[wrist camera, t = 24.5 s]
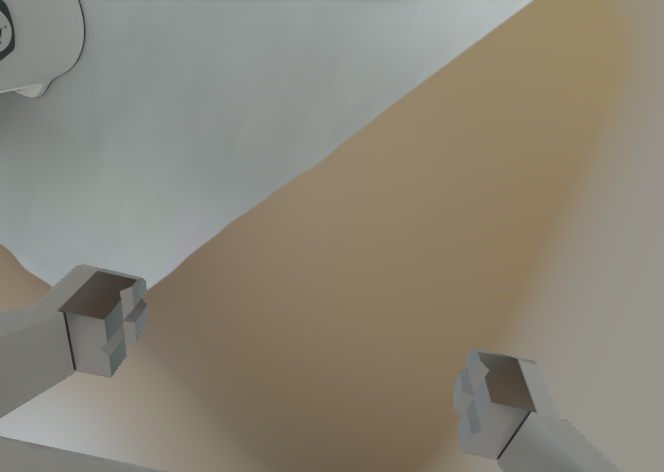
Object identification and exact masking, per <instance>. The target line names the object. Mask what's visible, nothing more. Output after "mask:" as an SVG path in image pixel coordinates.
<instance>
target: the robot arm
mask: <svg viewBox="0 0 664 472" xmlns="http://www.w3.org/2000/svg"><path fill="white" fill-rule="evenodd" d="M83 40H84V23H83V17H82V12H81V8H80V5H79V2H78V0H0V93H3V92H8V91H14V92H16V93H19V94H21V95H24V96H26V97H29V98H34V97H40V96H41V95H43V93H44V92H45V91H46V89H47V87H48V85H49V84H50V82H51V81H52V80H53V79H54V78H56V77H58V76H60V75H62V74H64V73H65V72H67V71H68V70H69V69H70V68H71V67H72V66H73V65H74V64H75V62H76V61H77V59H78V57H79V55H80V53H81V50H82V46H83ZM146 292H147V288H146V280H144V279H143V278H141V277H137V276H133V275H128V274H124V273H120V272H116V271H112V270H107V269H101V268H97V267H93V266H89V265H85V264H82V265H78V266H76V267H75V268H74V269H73V270H72V271H71V272H69V273H68V274H67V275H66V276H65V277H64V278H63V279H62V280H61V281H60V282H58V283H57V284H56V285H55V286H54V287H53V288H52V289H51V290H50V291H49V292H48V293H46V294H45V295H44V296H43V297H42V298H41V299H40V300H39V301H38V302H37V303H35V304H34V305H33V306H31V305H24V306H21V307H18V308H15V309H12V310H9V311H7V312H4V313H1V314H0V418H1V417H3V416H5V415H6V414H8V413H10V412H11V411H13V410H15V409H16V408H18V407H19V406H21V405H23V404H24V403H26V402H28V401H29V400H31V399H33V398H34V397H36V396H38V395H39V394H41V393H43V392H44V391H46V390H47V389H49V388H51V387H52V386H54V385H56V384H57V383H59V382H61V381H62V380H64V379H66V378H67V377H69V376H70V375H72V374H74V371H77V372H83V373H88V374H94V375H99V376H104V377H110V378H111V377H112V376H113V375H114V373H115V372H116V370H117V369H118V367H119V366H120V365H121V363H122V362H123V360H124V359H125V357H126V347H127V346H129V345H131V344H133V343H135V342H136V341H137V340H138V338H139V337H140V335H141V334H142V332H143V329H144V327H145V324H146V321H147V314H148V307H147V304H146V303H145V302H144V300H143V299H142V297H143V296H144V294H145V293H146ZM466 363H467V368H466V369H464V370H462V371H460V372H459V374H458V376H457V378H456V380H455V385H454V390H453V403H454V410H455V411H456V412H457V414H458V415H459V416H460V417H461V420H460V422H459V424H458V426H457V427H458V433H459V438H460V444H461V450H462V452H464V453H468V454H472V455H476V456H481V457H485V458H489V459H493V460H497V463H498V465H499V466H500V468H501V469H502V471H503V472H621V471H620V470H619V469H617V467H616V466H614V465H613V464H612V463H611V462H610V461H609V460H608V459H607V458H606V457H605V456H604V455H603V454H602V453H601V452H600V451H599V450H598V449H597V448H596V447H595V446H594V445H593V444H592V443H591V442H590V441H589V440H588V439H587V438H586V437H585V436H584V435H582V434H581V433H580V432H579V431H578V430H577V429H576V428H575V427H574V426H573V425H572V424H571V423H570V422H569V421H568V420H566V419H562V418H560V416H559V413H558V410H557V408H556V406H555V403H554V401H553V399H552V396H551V394H550V391H549V389H548V386H547V384H546V382H545V379H544V377H543V375H542V372H541V370H540V367H539V365H538V364H537V363H536V362H535V361H534V360H529V359H523V358H518V357H511V356H507V355H502V354H497V353H492V352H488V351H482V350H478V349H472V350H471V351H470V352H469V354H468V356H467V358H466ZM0 472H168V471H163V470H158V469H154V468H149V467H144V466H139V465H135V464H130V463H125V462H120V461H116V460H110V459H106V458H101V457H96V456H91V455H87V454H82V453H77V452H73V451H68V450H63V449H58V448H54V447H49V446H44V445H39V444H35V443H30V442H25V441H20V440H15V439H11V438H6V437H1V436H0Z"/></svg>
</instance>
